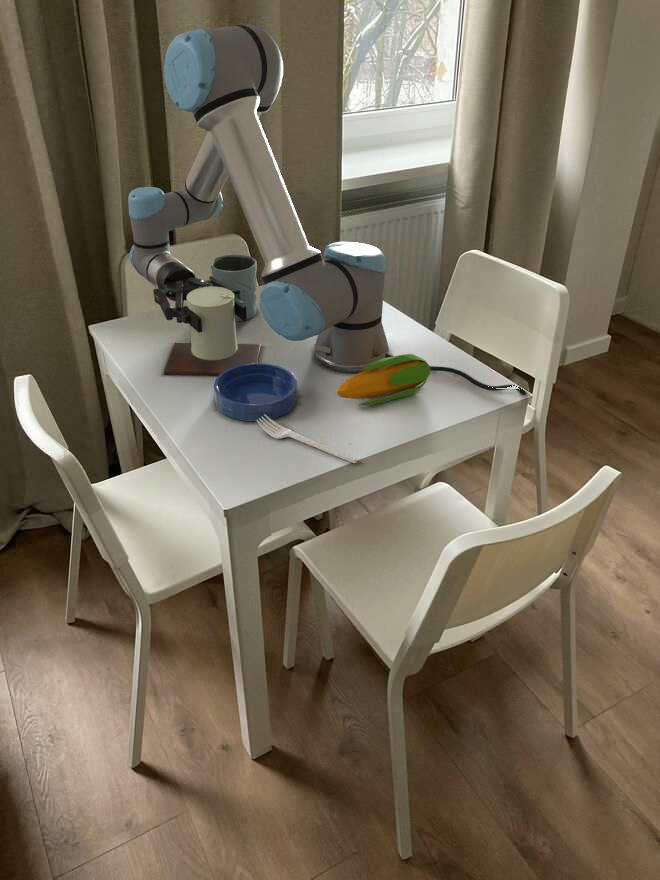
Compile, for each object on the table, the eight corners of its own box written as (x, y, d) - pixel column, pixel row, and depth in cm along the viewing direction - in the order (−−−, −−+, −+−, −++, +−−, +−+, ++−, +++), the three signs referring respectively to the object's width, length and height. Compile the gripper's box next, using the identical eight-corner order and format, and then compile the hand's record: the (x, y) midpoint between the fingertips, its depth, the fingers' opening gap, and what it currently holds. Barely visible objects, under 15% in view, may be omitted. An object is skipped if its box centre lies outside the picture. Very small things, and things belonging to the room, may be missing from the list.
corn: (441, 356, 138) (348, 381, 130) (439, 392, 142) (348, 419, 134) (418, 342, 144) (327, 365, 136) (417, 377, 148) (328, 402, 140)
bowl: (298, 379, 146) (298, 363, 144) (294, 423, 134) (294, 406, 131) (221, 378, 146) (219, 362, 144) (209, 421, 134) (208, 404, 132)
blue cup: (231, 326, 164) (228, 275, 157) (205, 311, 170) (201, 261, 163) (268, 313, 170) (266, 263, 163) (241, 299, 176) (238, 250, 169)
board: (260, 347, 156) (260, 344, 156) (255, 376, 147) (255, 373, 146) (175, 345, 157) (174, 342, 156) (164, 374, 147) (163, 371, 146)
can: (234, 361, 146) (231, 305, 139) (187, 359, 146) (181, 303, 139) (240, 339, 153) (237, 284, 146) (195, 337, 153) (190, 283, 146)
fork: (350, 469, 123) (351, 460, 122) (255, 429, 132) (254, 421, 131) (361, 459, 125) (361, 450, 124) (266, 421, 134) (266, 412, 133)
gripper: (219, 284, 164) (272, 323, 149) (126, 306, 154) (172, 351, 139) (217, 251, 159) (271, 288, 144) (120, 272, 149) (167, 315, 134)
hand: (222, 319), depth 142 cm, fingers closed on can, 9 cm apart
